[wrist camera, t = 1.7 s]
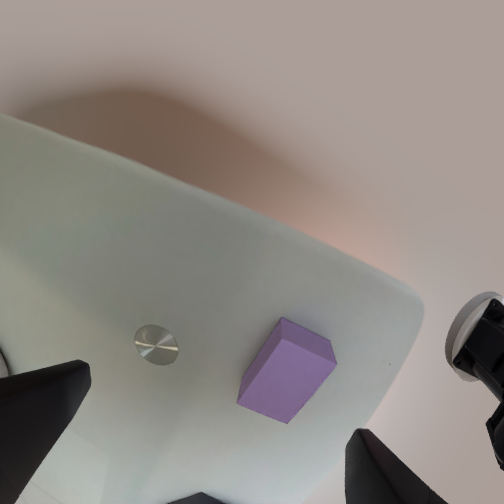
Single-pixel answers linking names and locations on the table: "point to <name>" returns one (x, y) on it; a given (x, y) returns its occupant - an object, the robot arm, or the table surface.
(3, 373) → the dark grey egg dome
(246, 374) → the soap bar
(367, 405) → the table surface
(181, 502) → the button base
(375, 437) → the robot arm
